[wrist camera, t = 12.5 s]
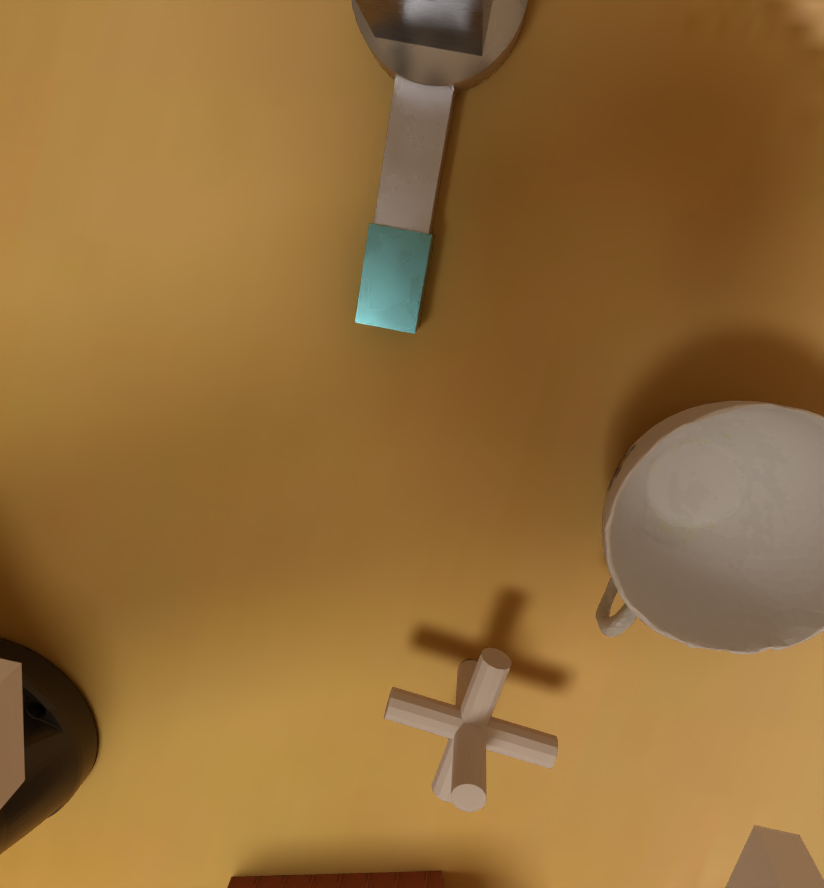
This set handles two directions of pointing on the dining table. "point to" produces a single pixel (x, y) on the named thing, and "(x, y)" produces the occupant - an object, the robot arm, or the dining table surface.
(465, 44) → the square hollow tube
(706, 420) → the teacup
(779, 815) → the dining table surface
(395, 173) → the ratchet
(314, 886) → the box
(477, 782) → the pipe connector
